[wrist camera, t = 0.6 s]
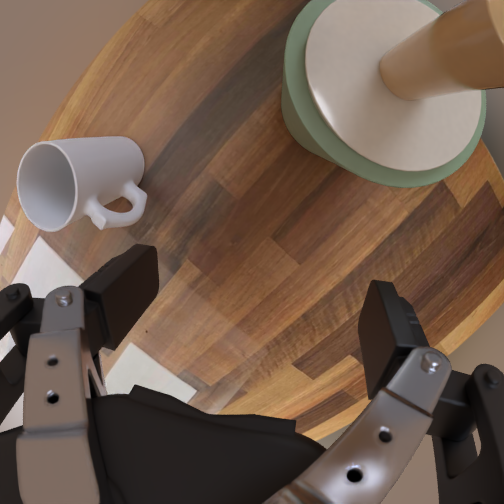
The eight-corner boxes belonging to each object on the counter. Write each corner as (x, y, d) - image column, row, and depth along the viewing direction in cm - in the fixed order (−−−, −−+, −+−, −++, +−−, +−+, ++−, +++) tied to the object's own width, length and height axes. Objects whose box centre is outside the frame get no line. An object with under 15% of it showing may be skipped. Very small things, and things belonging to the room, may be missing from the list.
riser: (272, 62, 24) (264, -17, 9) (375, 56, 22) (461, -3, 7) (289, 164, 27) (303, 198, 12) (390, 155, 26) (493, 183, 11)
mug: (85, 174, 29) (8, 200, 18) (112, 122, 27) (33, 125, 16) (151, 226, 31) (91, 276, 20) (184, 174, 28) (128, 201, 17)
